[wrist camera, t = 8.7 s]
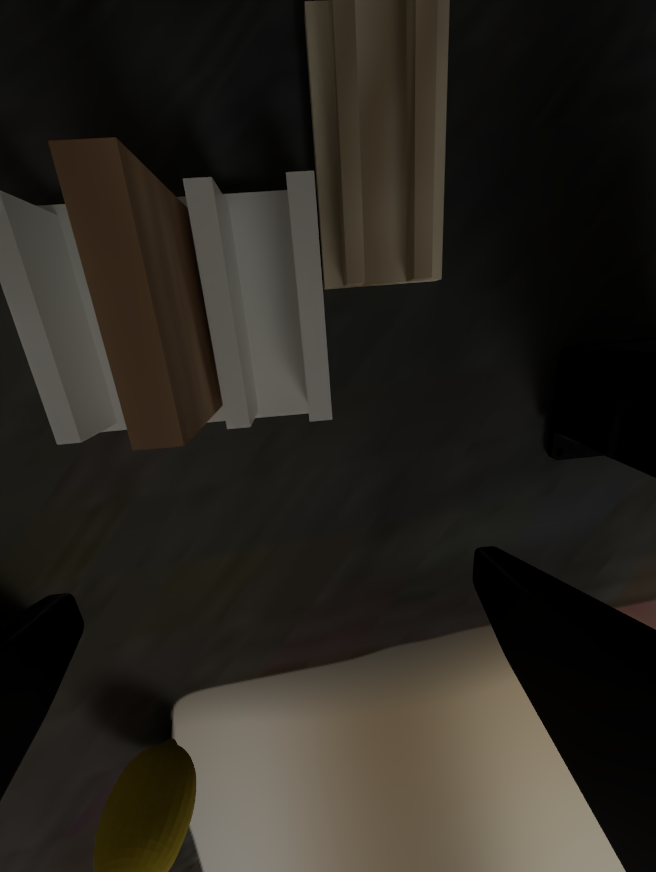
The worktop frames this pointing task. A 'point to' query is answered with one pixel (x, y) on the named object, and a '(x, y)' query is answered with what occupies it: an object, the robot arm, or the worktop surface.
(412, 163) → the stand
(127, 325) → the board
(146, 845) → the lemon
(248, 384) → the rack
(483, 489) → the worktop surface
